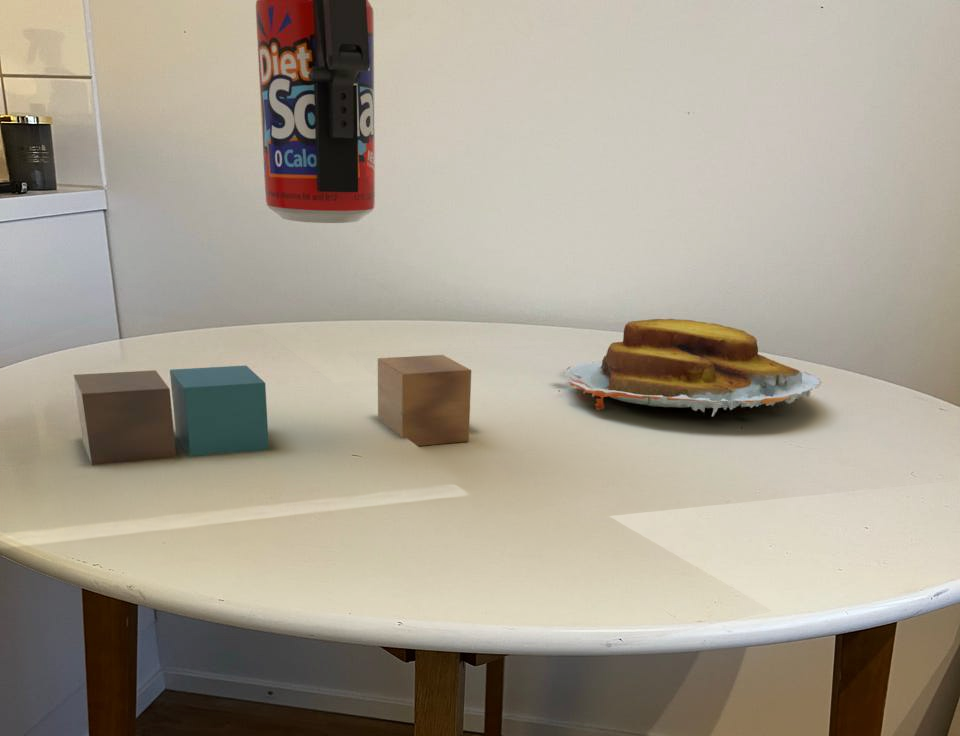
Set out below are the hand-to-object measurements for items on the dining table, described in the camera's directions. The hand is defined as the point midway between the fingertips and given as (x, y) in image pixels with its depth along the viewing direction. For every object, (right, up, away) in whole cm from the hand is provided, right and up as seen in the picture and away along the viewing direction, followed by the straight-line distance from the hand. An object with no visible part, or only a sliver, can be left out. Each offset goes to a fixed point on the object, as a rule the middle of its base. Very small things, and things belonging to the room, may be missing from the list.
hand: (319, 186), depth 73 cm
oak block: (+7, -15, +13) cm, 21 cm away
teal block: (-9, -18, +7) cm, 21 cm away
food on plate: (+32, -9, +28) cm, 44 cm away
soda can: (0, -2, +1) cm, 2 cm away
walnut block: (-15, -19, +4) cm, 25 cm away
